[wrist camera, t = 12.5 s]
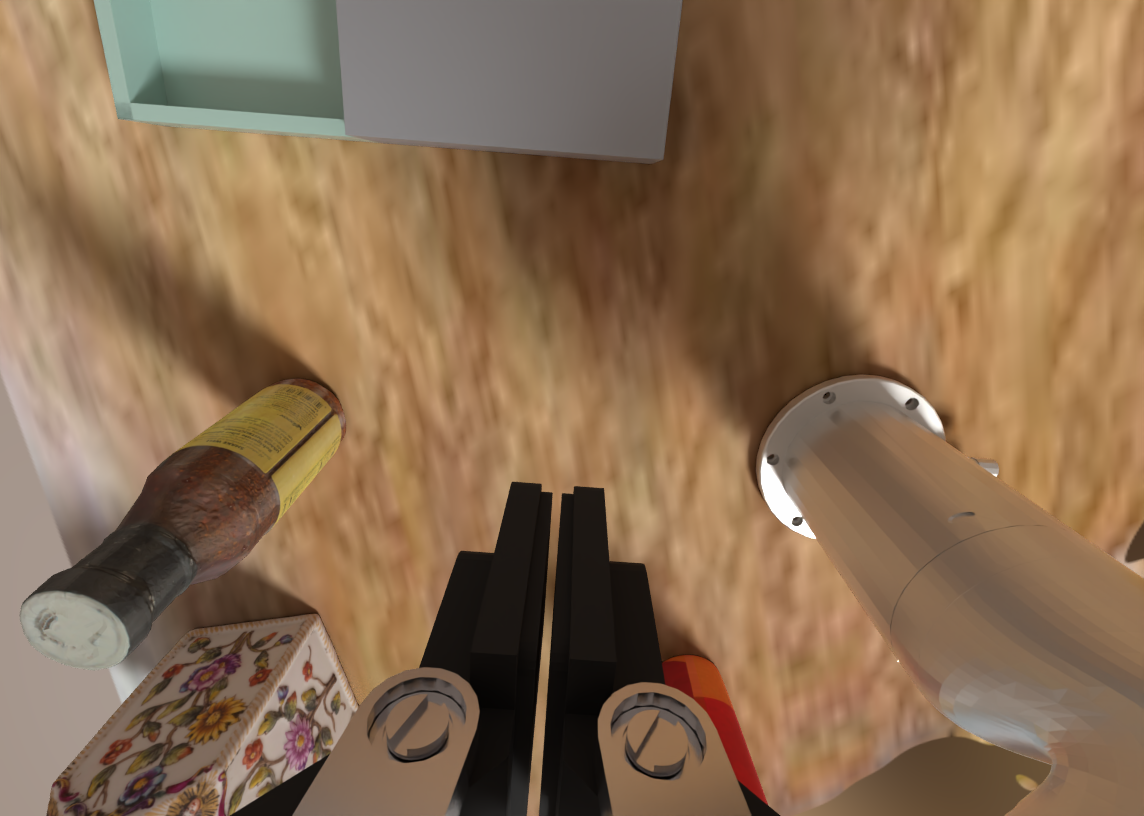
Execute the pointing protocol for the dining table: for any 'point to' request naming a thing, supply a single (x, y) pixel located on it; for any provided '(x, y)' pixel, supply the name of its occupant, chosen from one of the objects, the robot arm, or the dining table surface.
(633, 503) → the dining table surface
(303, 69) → the box
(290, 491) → the sauce bottle
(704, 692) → the coffee cup
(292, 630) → the decorative jar
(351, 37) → the slate block
